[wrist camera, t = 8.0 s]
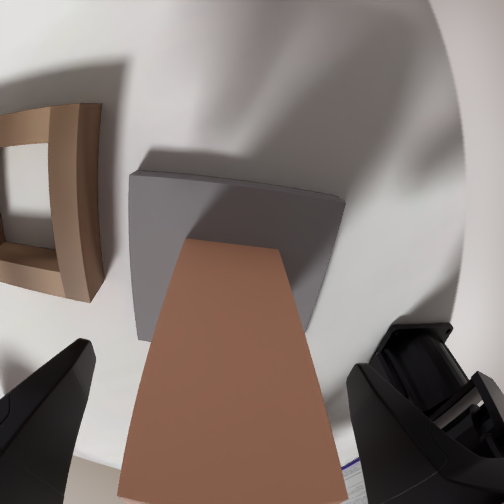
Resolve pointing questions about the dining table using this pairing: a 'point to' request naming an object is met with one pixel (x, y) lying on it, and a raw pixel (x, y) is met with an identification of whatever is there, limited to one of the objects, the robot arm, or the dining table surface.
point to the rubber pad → (225, 232)
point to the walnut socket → (60, 202)
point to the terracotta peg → (230, 391)
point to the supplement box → (354, 483)
